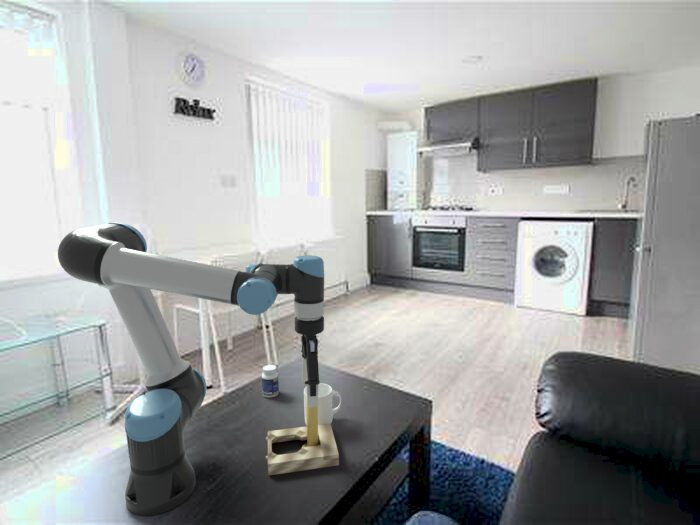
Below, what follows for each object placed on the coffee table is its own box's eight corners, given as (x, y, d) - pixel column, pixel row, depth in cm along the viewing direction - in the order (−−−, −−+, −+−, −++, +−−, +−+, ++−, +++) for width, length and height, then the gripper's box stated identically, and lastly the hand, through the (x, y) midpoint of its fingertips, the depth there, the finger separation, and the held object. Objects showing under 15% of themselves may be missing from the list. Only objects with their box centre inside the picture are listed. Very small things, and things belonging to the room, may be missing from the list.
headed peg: (302, 460, 107) (300, 404, 103) (300, 445, 112) (298, 392, 109) (325, 457, 108) (324, 401, 105) (322, 442, 114) (321, 390, 111)
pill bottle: (277, 398, 138) (276, 371, 136) (260, 398, 138) (259, 371, 136) (280, 389, 143) (279, 363, 142) (264, 389, 144) (263, 363, 142)
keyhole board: (266, 475, 101) (265, 464, 100) (266, 441, 114) (265, 431, 114) (338, 465, 105) (338, 454, 104) (330, 433, 118) (330, 423, 117)
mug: (347, 423, 123) (346, 390, 121) (310, 433, 118) (309, 399, 116) (336, 409, 131) (335, 378, 129) (301, 418, 126) (300, 386, 124)
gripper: (331, 332, 92) (330, 417, 96) (317, 301, 116) (317, 370, 120) (298, 334, 90) (299, 420, 94) (291, 303, 114) (292, 372, 118)
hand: (309, 392), depth 107 cm, fingers open, 13 cm apart
